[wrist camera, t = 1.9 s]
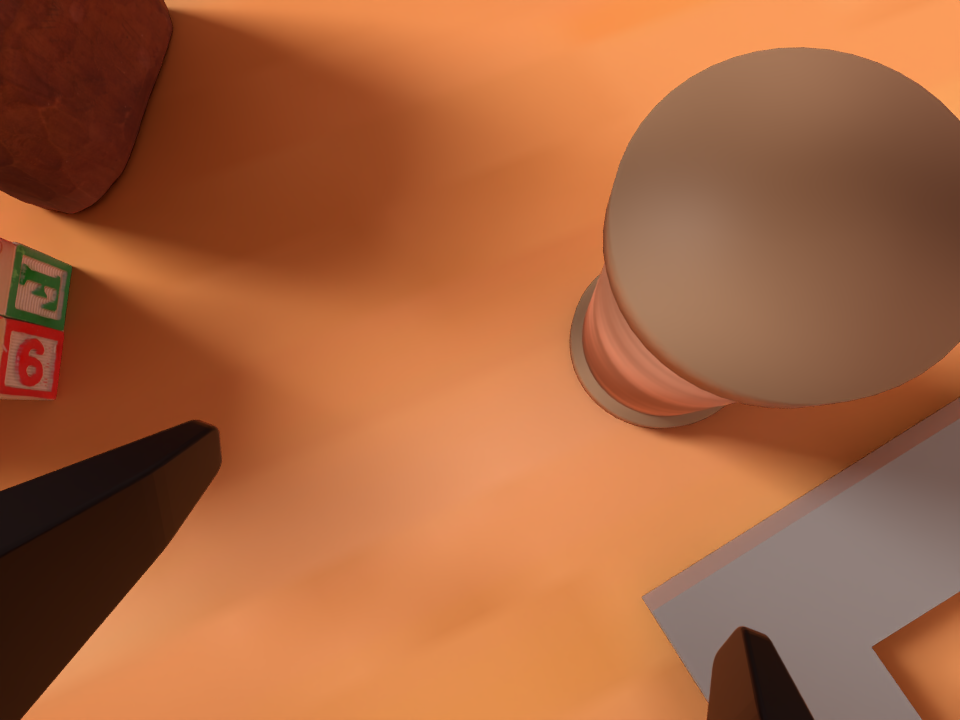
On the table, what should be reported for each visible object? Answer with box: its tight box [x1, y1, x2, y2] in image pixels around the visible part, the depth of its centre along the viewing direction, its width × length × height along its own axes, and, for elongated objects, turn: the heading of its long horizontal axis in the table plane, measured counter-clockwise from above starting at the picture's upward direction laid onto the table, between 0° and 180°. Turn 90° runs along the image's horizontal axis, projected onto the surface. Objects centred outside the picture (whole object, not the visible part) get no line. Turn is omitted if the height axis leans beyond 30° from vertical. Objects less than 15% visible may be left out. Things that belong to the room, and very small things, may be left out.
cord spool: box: [570, 47, 960, 428], centre depth 17 cm, size 7×7×13 cm
